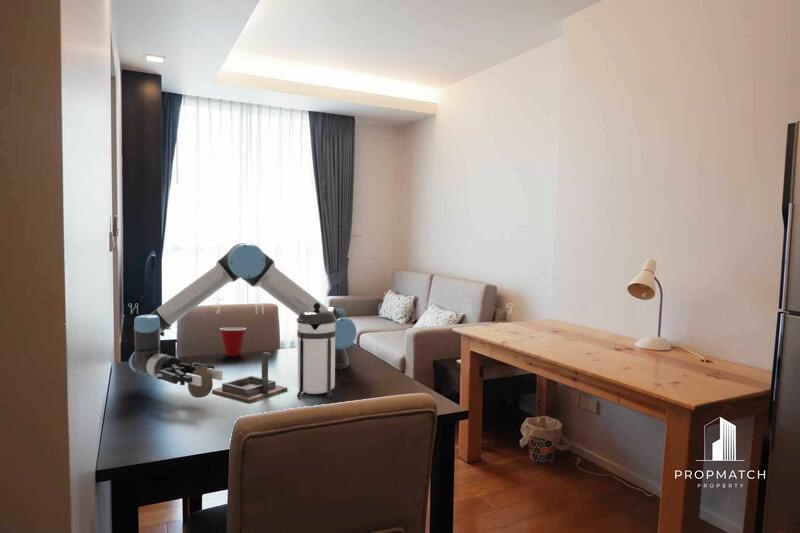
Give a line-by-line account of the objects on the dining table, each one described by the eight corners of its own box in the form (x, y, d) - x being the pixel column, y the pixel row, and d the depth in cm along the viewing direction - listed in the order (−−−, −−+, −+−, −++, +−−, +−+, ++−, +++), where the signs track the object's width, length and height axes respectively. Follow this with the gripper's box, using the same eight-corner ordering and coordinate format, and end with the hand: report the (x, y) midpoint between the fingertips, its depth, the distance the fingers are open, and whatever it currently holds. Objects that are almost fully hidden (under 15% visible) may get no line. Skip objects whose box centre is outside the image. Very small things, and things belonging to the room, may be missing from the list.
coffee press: (350, 393, 169) (351, 303, 167) (310, 403, 157) (311, 307, 156) (319, 382, 181) (320, 298, 179) (280, 391, 169) (280, 301, 168)
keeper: (250, 381, 180) (250, 342, 180) (288, 390, 170) (288, 349, 170) (212, 392, 167) (212, 350, 166) (250, 403, 157) (250, 358, 156)
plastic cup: (250, 352, 226) (250, 325, 225) (240, 358, 215) (240, 330, 215) (226, 351, 227) (226, 325, 226) (215, 357, 216) (215, 329, 216)
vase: (192, 392, 156) (191, 364, 156) (215, 392, 157) (215, 363, 157) (184, 399, 150) (184, 370, 149) (209, 399, 150) (208, 369, 150)
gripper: (192, 372, 171) (238, 383, 159) (135, 386, 155) (181, 399, 142) (192, 350, 171) (237, 359, 158) (134, 361, 154) (181, 373, 142)
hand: (211, 378), depth 150 cm, fingers closed on vase, 6 cm apart
